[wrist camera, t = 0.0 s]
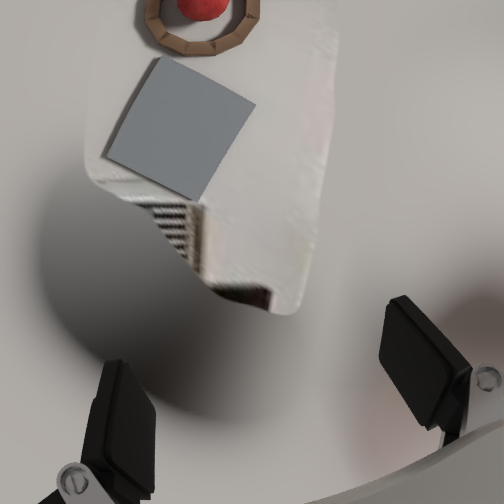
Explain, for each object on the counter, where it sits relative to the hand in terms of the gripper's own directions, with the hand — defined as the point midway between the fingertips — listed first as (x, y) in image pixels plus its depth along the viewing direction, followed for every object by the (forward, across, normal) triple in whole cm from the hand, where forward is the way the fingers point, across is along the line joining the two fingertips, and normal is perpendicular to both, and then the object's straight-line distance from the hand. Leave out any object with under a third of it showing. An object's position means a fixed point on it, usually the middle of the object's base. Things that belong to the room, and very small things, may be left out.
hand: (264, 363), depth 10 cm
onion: (+31, -2, -22) cm, 39 cm away
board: (+31, +3, -7) cm, 32 cm away
